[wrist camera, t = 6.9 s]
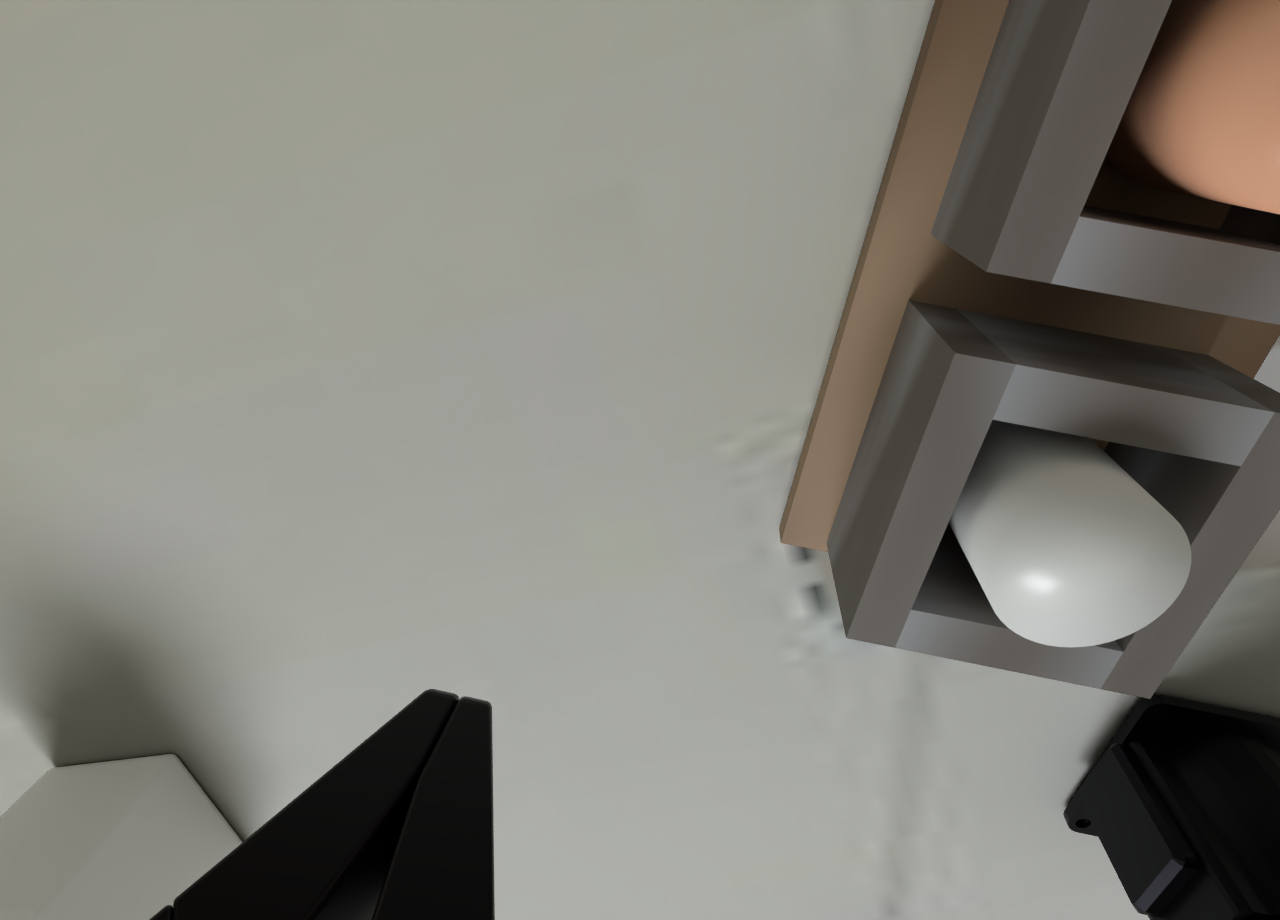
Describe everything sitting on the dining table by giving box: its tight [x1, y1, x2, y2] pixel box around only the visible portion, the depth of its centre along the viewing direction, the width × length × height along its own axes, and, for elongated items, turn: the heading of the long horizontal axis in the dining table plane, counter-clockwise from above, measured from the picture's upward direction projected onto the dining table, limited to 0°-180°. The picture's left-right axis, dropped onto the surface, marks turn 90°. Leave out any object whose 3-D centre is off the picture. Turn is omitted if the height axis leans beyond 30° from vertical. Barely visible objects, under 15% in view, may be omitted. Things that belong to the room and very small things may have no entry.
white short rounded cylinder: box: [949, 420, 1191, 648], centre depth 17 cm, size 4×4×5 cm
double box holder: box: [779, 0, 1280, 699], centre depth 16 cm, size 10×17×5 cm, turn 171°
